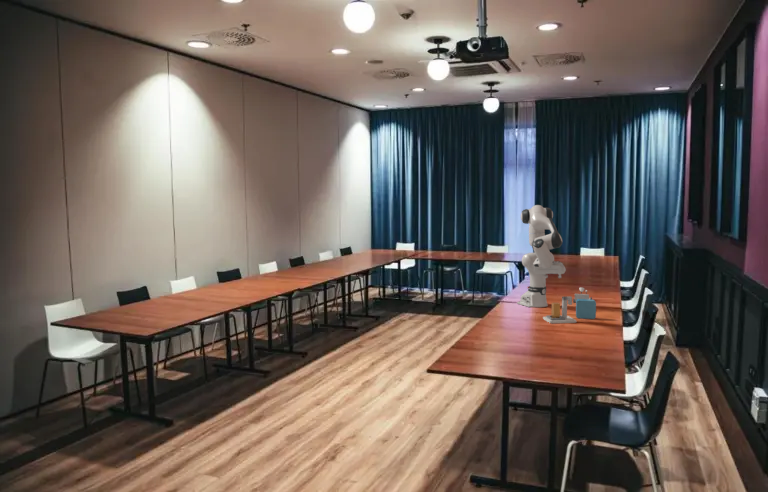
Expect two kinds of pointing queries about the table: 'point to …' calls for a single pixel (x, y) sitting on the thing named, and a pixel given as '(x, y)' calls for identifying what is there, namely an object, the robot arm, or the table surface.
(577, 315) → the data package
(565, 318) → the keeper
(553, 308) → the wooden square pillar
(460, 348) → the table surface
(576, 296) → the toy car
